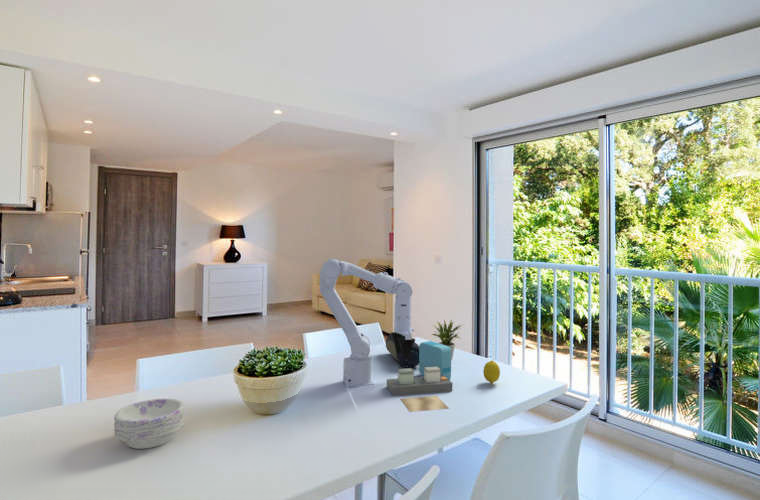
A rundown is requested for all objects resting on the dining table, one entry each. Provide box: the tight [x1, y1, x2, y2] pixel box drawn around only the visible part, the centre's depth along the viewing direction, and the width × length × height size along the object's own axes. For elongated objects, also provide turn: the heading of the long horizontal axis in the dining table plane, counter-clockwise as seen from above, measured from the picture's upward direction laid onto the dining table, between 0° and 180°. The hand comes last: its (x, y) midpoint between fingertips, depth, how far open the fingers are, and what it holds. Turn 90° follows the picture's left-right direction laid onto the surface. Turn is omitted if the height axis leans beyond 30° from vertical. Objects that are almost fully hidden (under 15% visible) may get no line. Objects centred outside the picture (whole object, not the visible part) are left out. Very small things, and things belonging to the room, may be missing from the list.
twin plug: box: [423, 367, 440, 383], centre depth 143 cm, size 4×3×7 cm, turn 103°
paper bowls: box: [113, 398, 186, 450], centre depth 106 cm, size 15×15×8 cm
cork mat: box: [400, 395, 450, 413], centre depth 130 cm, size 12×10×1 cm
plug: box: [397, 367, 415, 385], centre depth 141 cm, size 4×3×7 cm, turn 103°
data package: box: [418, 340, 452, 381], centre depth 155 cm, size 12×4×12 cm, turn 36°
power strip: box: [386, 375, 453, 397], centre depth 142 cm, size 20×8×4 cm, turn 103°
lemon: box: [483, 359, 501, 384], centre depth 149 cm, size 6×6×8 cm
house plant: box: [431, 319, 465, 361], centre depth 177 cm, size 14×14×16 cm
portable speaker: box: [385, 333, 420, 369], centre depth 175 cm, size 25×10×10 cm, turn 14°
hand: (402, 355), depth 149 cm, fingers open, 7 cm apart
